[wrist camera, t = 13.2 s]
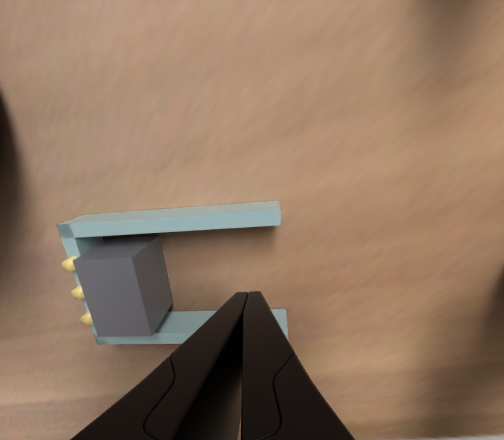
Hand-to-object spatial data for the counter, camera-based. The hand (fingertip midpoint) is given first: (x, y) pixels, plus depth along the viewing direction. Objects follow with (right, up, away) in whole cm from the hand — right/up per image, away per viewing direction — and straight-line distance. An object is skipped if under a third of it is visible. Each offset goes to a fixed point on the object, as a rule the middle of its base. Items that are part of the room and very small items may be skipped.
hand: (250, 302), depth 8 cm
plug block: (-9, -1, +11) cm, 15 cm away
